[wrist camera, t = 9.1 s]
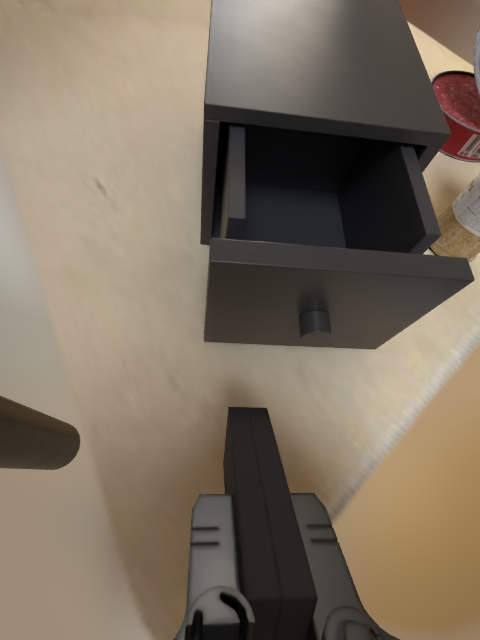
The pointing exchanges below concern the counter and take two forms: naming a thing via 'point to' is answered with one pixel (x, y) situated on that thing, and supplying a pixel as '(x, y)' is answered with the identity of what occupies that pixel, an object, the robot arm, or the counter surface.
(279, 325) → the pull-out drawer box
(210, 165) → the small drawer cabinet
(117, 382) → the counter surface
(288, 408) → the counter surface
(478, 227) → the sprinkles bottle
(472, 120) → the canned food
